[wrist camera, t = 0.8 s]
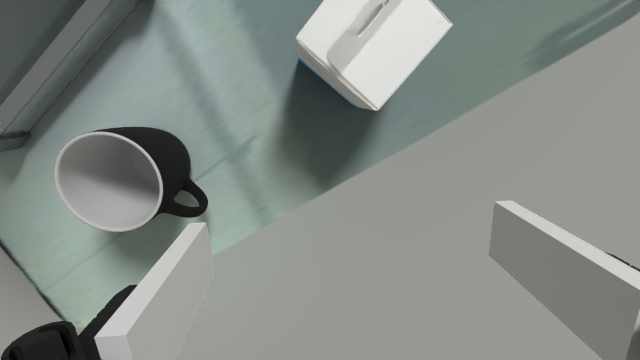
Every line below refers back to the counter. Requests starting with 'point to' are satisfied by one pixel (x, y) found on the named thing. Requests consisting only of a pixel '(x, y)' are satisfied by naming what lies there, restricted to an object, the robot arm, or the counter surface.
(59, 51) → the rail
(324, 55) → the ink box
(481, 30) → the counter surface
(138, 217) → the mug
